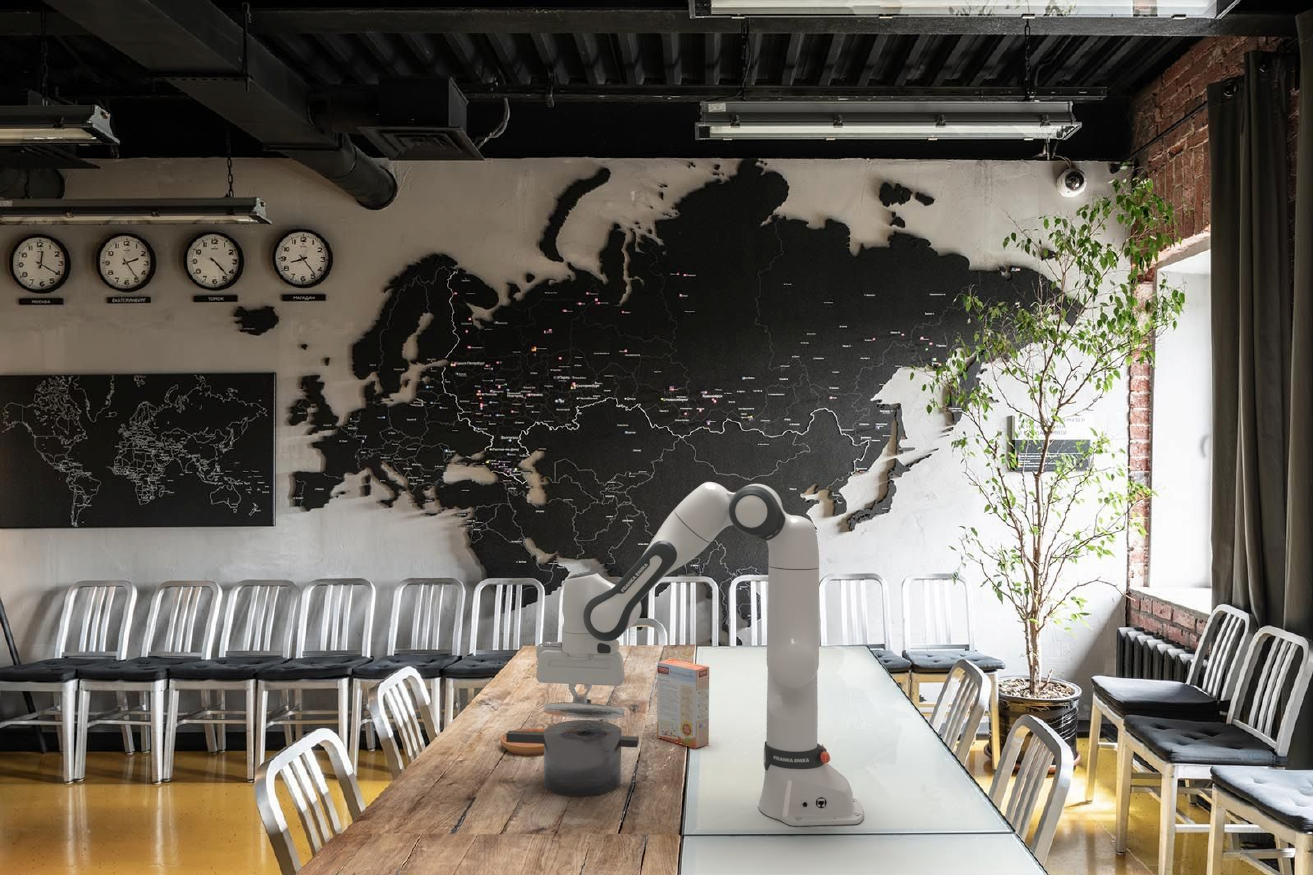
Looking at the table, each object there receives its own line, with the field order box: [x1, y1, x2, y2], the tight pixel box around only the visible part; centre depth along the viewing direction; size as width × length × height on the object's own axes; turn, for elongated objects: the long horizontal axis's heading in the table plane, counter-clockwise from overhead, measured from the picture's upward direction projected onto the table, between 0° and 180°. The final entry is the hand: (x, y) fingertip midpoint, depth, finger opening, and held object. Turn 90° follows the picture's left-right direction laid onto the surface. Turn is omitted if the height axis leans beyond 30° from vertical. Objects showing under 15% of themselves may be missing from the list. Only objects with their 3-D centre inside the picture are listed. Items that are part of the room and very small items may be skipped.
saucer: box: [499, 727, 546, 756], centre depth 244 cm, size 16×16×3 cm
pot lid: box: [542, 698, 625, 720], centre depth 220 cm, size 19×19×3 cm
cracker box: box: [656, 658, 710, 750], centre depth 250 cm, size 14×6×21 cm, turn 47°
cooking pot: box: [506, 719, 640, 798], centre depth 218 cm, size 31×18×12 cm, turn 84°
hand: (579, 703), depth 214 cm, fingers closed, pressing on pot lid
